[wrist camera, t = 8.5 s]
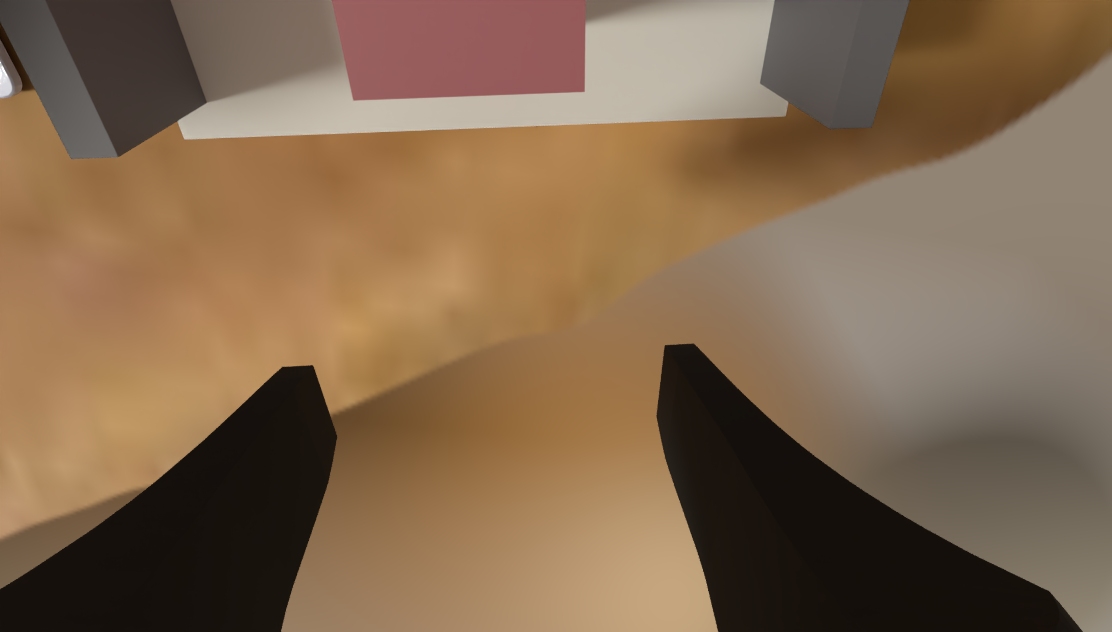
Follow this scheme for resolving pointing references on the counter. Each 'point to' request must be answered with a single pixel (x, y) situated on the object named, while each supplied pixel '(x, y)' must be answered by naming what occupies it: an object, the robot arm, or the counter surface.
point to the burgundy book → (461, 47)
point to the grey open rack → (328, 108)
